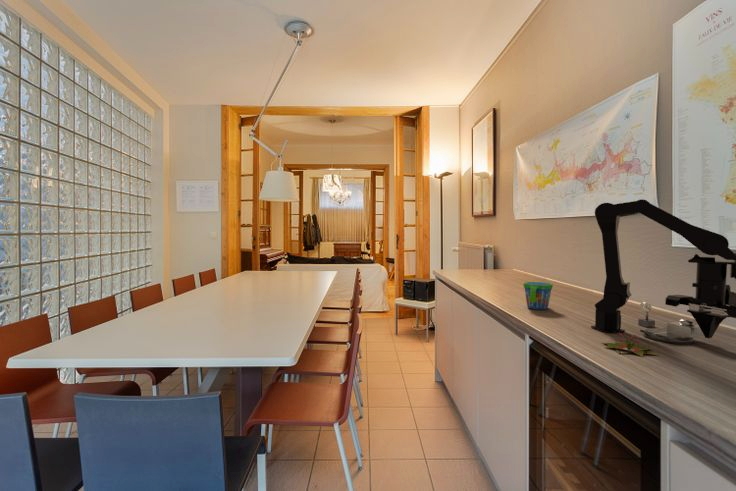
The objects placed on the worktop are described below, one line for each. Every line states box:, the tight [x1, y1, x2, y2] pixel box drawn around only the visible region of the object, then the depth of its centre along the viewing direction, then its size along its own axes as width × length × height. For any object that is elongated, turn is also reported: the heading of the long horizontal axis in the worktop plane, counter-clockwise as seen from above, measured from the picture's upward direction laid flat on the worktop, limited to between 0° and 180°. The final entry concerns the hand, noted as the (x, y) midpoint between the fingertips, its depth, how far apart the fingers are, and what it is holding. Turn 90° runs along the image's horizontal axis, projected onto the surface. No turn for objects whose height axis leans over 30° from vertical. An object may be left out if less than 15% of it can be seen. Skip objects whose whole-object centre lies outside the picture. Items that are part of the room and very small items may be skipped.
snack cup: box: [522, 281, 554, 311], centre depth 139 cm, size 16×10×10 cm
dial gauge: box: [637, 301, 656, 328], centre depth 113 cm, size 3×3×8 cm
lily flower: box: [603, 331, 659, 358], centre depth 90 cm, size 12×12×5 cm
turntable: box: [639, 326, 695, 345], centre depth 100 cm, size 11×11×2 cm
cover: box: [666, 318, 705, 338], centre depth 98 cm, size 6×6×4 cm
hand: (708, 337), depth 93 cm, fingers closed
